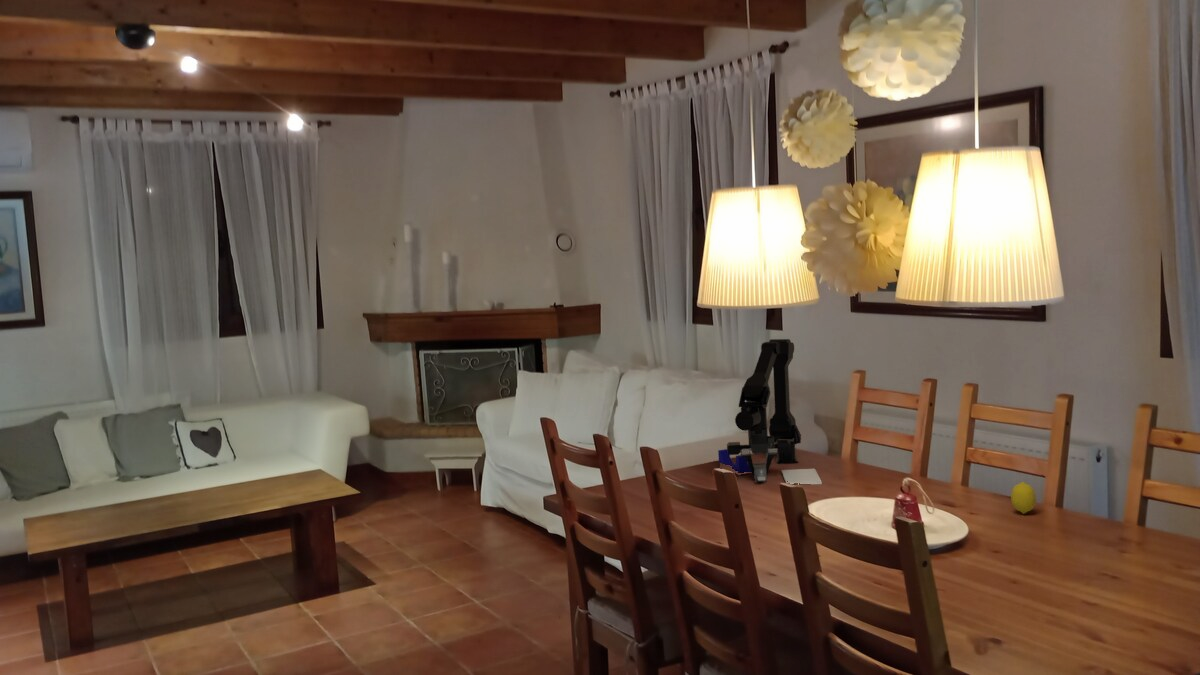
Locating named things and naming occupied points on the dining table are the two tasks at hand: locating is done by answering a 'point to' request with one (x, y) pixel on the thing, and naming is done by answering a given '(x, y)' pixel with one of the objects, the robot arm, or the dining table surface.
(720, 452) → the cable clip
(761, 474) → the connector
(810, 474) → the mat
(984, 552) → the dining table surface
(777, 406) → the robot arm
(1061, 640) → the dining table surface
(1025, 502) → the lemon
